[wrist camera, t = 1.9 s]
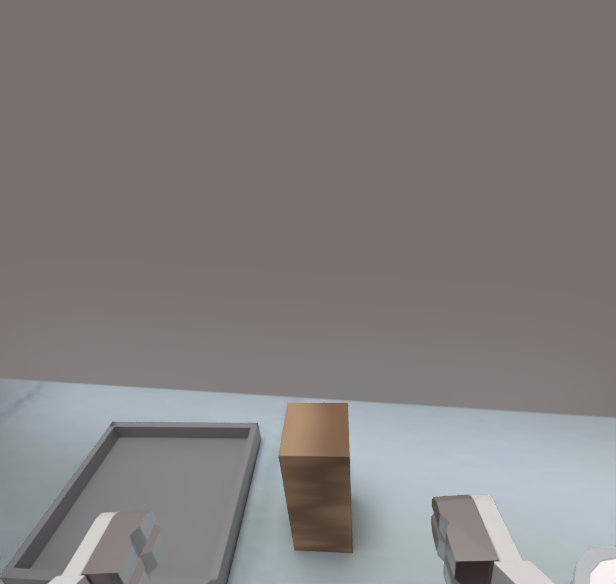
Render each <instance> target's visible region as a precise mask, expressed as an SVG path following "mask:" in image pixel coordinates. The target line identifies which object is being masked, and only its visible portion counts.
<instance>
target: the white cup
mask: <svg viewBox="0 0 616 584" xmlns="http://www.w3.org/2000/svg"><path fill="white" fill-rule="evenodd" d="M571 584H616V546H612V545H610V546H604V547H599V548H594V549H589V550H588V551H587V552H586V553H585V554H584V556H583V557H582V558H581V559H580V560H579V561H578V562H577V563H576V566H575V570H574V573H573V577H572V580H571Z"/></svg>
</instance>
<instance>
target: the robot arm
mask: <svg viewBox="0 0 616 584" xmlns="http://www.w3.org/2000/svg"><path fill="white" fill-rule="evenodd" d="M432 508H433V511H434V514H433V515H432V516H431V525H432V533H433V538H434V543H435V547H436V550H437V554H438V556H439V557H440V558H441V559H442V560H443V561H444V571H443V575H444V578H445V582H446V584H555V583H554V582H553V581H552V580H550V579H549V578H548V577H547V576H546V575H545V574H544V573H543V572H542V571H540V570H539V569H538V568H537V567H536V566H535V565H534V564H533V563H531V562H530V561H523V559H522V557H521V555H520V553H519V551H518V549H517V547H516V545H515V543H514V541H513V539H512V537H511V535H510V533H509V531H508V529H507V527H506V525H505V523H504V520H503V518H502V516H501V514H500V512H499V510H498V508H497V506H496V504H495V502H494V500H493V498H492V497H491V496H490V495H488V494H482V495H457V496H442V497H433V499H432ZM156 519H157V517H156V515H155V513H154V511H136V512H107V513H101V514H100V515H99V516H98V517H97V518H96V519H95V521H94V522H93V524H92V526H91V527H90V529H89V531H88V532H87V534H86V536H85V537H84V539H83V541H82V542H81V544H80V546H79V547H78V549H77V551H76V552H75V554H74V556H73V557H72V559H71V561H70V562H69V564H68V566H67V567H66V569H65V571H64V572H63V574H62V575H61V576H56V577H55V578H54V579H52V580H51V581H50V582H49V583H48V584H151V579H150V573H151V572H152V571H153V570H154V569H155V568H156V567H157V566H158V564H159V562H160V559H161V556H162V553H163V547H164V533H163V531H162V528H161V527H159V526H158V525H156V524H155V522H156Z"/></svg>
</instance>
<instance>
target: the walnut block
mask: <svg viewBox="0 0 616 584" xmlns="http://www.w3.org/2000/svg"><path fill="white" fill-rule="evenodd" d="M279 461H280V467H281V473H282V479H283V485H284V491H285V497H286V502H287V508H288V514H289V520H290V526H291V532H292V538H293V543H294V549H295V550H304V551H325V552H347V553H353V549H352V517H351V484H350V452H349V423H348V403H288V404H287V410H286V415H285V421H284V427H283V433H282V438H281V444H280V450H279Z"/></svg>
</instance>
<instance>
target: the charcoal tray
mask: <svg viewBox="0 0 616 584" xmlns="http://www.w3.org/2000/svg"><path fill="white" fill-rule="evenodd" d="M260 442H261V436H260V431H259V426H258V423H182V422H112V423H111V425H110V426H109V427H108V429H107V430H106V431H105V433H104V434H103V436H102V437H101V438H100V440H99V441H98V442H97V444H96V445H95V446H94V448H93V449H92V451H91V452H90V453H89V455H88V456H87V457H86V459H85V460H84V461H83V463H82V464H81V466H80V467H79V468H78V470H77V471H76V472H75V474H74V475H73V476H72V478H71V479H70V481H69V482H68V483H67V485H66V486H65V487H64V489H63V490H62V492H61V493H60V494H59V496H58V497H57V498H56V500H55V501H54V502H53V504H52V505H51V507H50V508H49V509H48V511H47V512H46V513H45V515H44V516H43V517H42V519H41V520H40V522H39V523H38V524H37V526H36V527H35V528H34V530H33V531H32V532H31V534H30V535H29V537H28V538H27V539H26V541H25V542H24V543H23V545H22V546H21V548H20V549H19V550H18V552H17V553H16V554H15V556H14V557H13V558H12V560H11V561H10V563H9V564H8V565H7V567H6V568H5V569H4V571H3V572H2V573H1V575H0V579H1V580H2V581H3V582H4V583H5V584H48V583H49V582H50V581H51V580H52V579H54V578H55V577H56V576H61V575H62V574H63V572H64V571H65V569H66V567H67V566H68V564H69V562H70V561H71V559H72V557H73V556H74V554H75V552H76V551H77V549H78V547H79V546H80V544H81V542H82V541H83V539H84V537H85V536H86V534H87V532H88V531H89V529H90V527H91V526H92V524H93V522H94V521H95V519H96V518H97V517H98V516H99V515H100V514H101V513H107V512H136V511H154V513H155V515H156V517H157V519H156V522H155V524H156V525H158V526H159V527H161V528H162V531H163V533H164V547H163V553H162V556H161V559H160V562H159V564H158V566H157V567H156V568H155V569H154V570H153V571H152V572H151V573H150V579H151V584H227V581H228V577H229V573H230V568H231V564H232V560H233V556H234V552H235V547H236V543H237V539H238V535H239V530H240V526H241V522H242V518H243V513H244V509H245V505H246V501H247V497H248V492H249V488H250V484H251V480H252V475H253V471H254V467H255V463H256V458H257V454H258V450H259V446H260Z"/></svg>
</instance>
